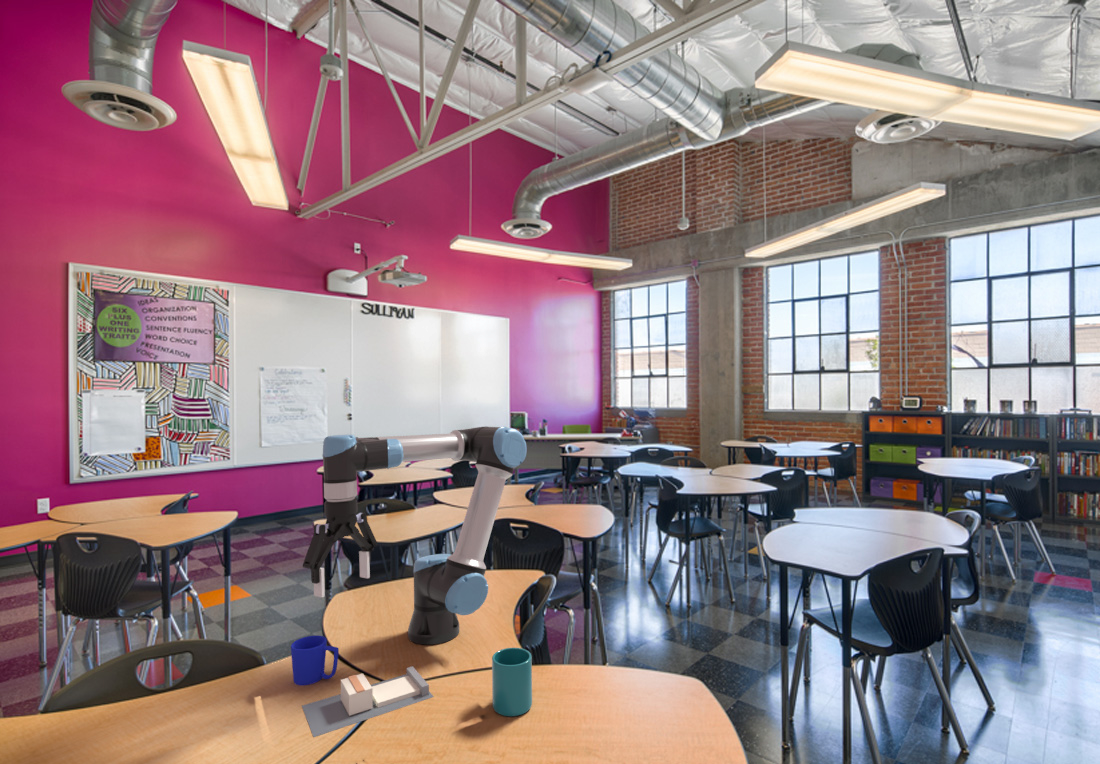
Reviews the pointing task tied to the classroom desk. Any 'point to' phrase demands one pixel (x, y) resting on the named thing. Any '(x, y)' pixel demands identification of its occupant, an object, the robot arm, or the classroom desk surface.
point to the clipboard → (385, 699)
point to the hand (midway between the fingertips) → (343, 586)
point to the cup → (512, 681)
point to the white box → (356, 694)
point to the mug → (311, 659)
